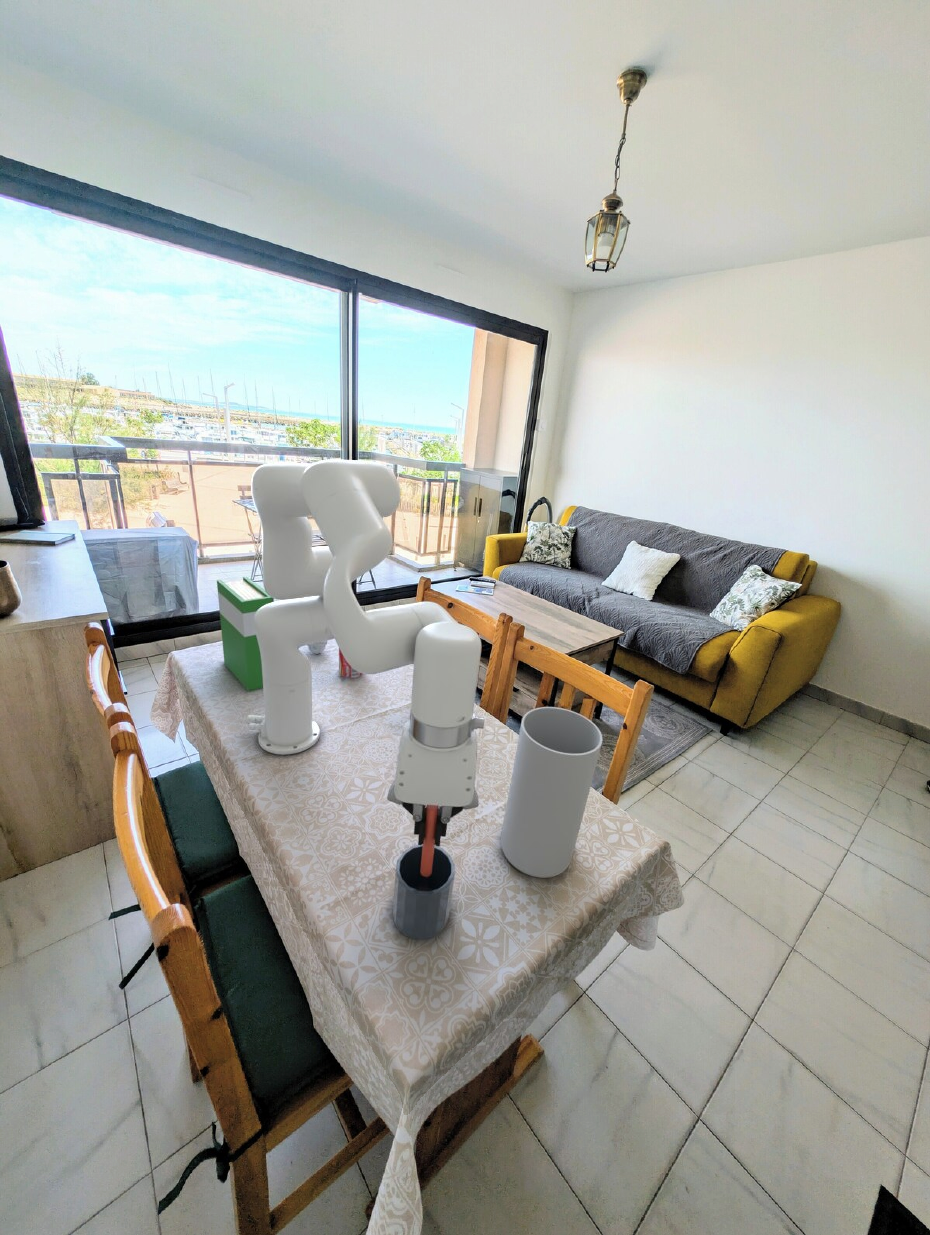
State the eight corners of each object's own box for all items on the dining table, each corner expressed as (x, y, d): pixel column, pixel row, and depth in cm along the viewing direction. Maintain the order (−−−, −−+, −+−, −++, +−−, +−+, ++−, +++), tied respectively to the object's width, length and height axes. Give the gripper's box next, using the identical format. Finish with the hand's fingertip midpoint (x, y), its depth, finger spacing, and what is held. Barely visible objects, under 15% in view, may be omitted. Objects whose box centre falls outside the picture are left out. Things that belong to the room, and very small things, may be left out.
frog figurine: (311, 646, 144) (311, 625, 142) (331, 650, 143) (332, 629, 140) (300, 654, 139) (299, 632, 136) (321, 659, 137) (321, 637, 135)
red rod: (419, 876, 65) (426, 809, 61) (420, 866, 67) (426, 800, 62) (431, 877, 65) (438, 810, 61) (432, 867, 67) (439, 801, 62)
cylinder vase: (517, 810, 90) (539, 698, 81) (580, 842, 85) (611, 725, 75) (487, 855, 80) (508, 732, 71) (556, 894, 74) (589, 767, 65)
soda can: (352, 665, 136) (353, 627, 131) (369, 674, 132) (371, 635, 128) (333, 673, 130) (333, 634, 126) (350, 683, 127) (351, 642, 122)
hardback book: (224, 662, 129) (216, 580, 121) (252, 656, 134) (246, 576, 125) (248, 691, 118) (241, 601, 109) (277, 683, 123) (273, 597, 114)
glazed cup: (389, 938, 65) (392, 892, 62) (396, 884, 73) (400, 841, 70) (447, 941, 66) (454, 896, 62) (449, 888, 73) (455, 845, 70)
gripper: (502, 711, 61) (485, 820, 67) (381, 701, 60) (376, 812, 67) (507, 747, 54) (488, 865, 61) (370, 736, 53) (366, 856, 60)
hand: (429, 836), depth 64 cm, fingers closed on red rod, 1 cm apart
